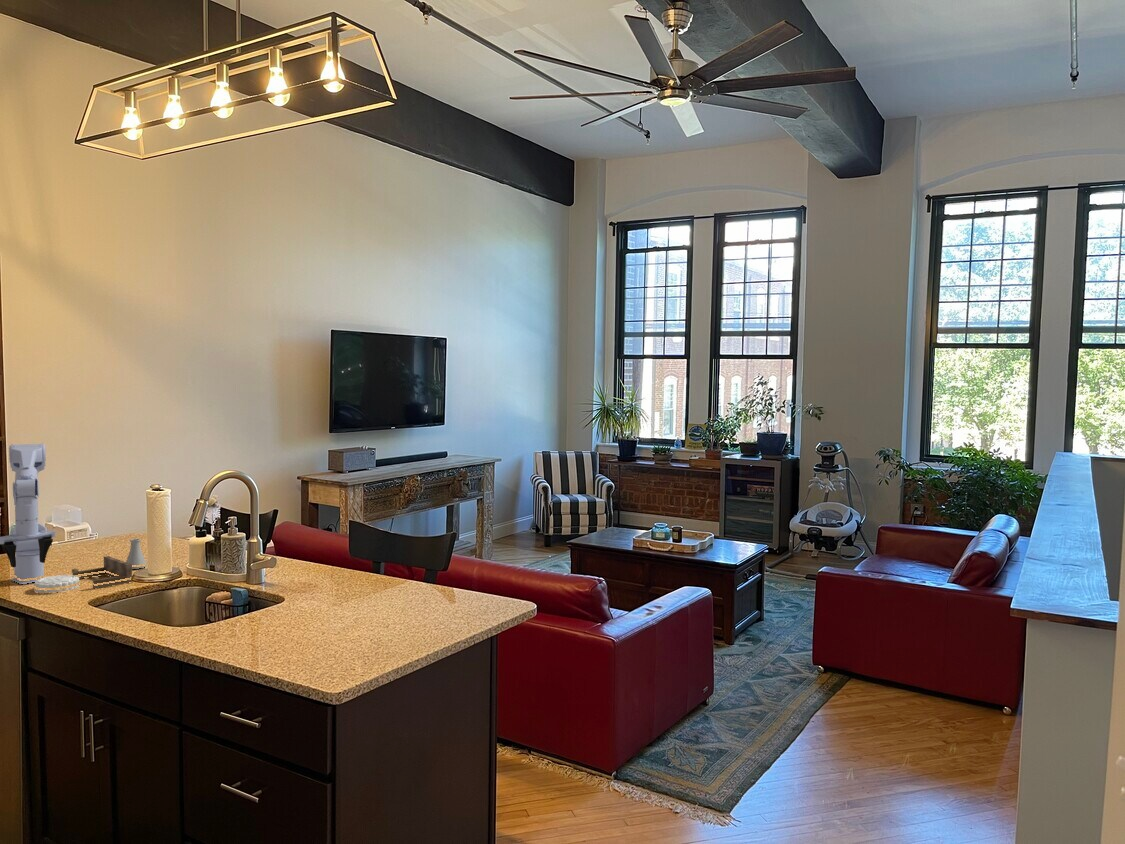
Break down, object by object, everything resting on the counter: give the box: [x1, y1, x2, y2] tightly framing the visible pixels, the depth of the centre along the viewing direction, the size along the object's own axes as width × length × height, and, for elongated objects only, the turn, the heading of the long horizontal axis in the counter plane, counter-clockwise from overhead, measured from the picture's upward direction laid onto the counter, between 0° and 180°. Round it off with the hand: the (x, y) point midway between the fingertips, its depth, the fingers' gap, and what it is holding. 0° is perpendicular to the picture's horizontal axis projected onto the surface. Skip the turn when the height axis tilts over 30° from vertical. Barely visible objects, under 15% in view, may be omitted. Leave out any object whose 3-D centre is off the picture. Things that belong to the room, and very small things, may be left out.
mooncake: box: [33, 574, 81, 594], centre depth 256 cm, size 12×12×4 cm
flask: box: [125, 538, 148, 570], centre depth 284 cm, size 7×7×10 cm
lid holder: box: [71, 555, 133, 589], centre depth 266 cm, size 18×11×6 cm, turn 50°
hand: (27, 564), depth 247 cm, fingers open, 7 cm apart
